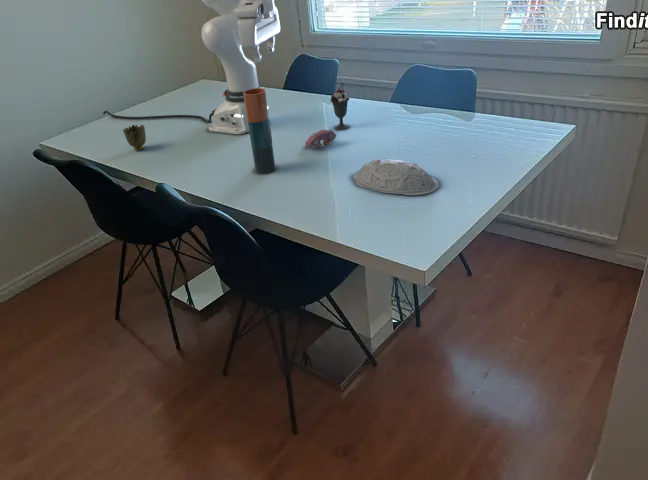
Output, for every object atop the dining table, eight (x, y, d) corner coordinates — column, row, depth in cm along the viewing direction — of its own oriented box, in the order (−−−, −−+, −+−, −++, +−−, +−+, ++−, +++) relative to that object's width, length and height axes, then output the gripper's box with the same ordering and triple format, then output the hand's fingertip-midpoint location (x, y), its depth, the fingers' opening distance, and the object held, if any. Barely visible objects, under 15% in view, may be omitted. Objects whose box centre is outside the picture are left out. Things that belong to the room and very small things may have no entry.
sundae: (351, 123, 197) (348, 81, 188) (350, 130, 191) (348, 86, 183) (332, 124, 198) (329, 82, 189) (331, 131, 192) (328, 88, 184)
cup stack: (252, 173, 168) (244, 122, 159) (260, 165, 173) (252, 115, 164) (271, 174, 166) (264, 122, 157) (278, 165, 171) (271, 115, 162)
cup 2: (153, 145, 198) (148, 124, 194) (142, 153, 192) (136, 131, 188) (136, 145, 200) (130, 124, 196) (125, 153, 195) (118, 131, 190)
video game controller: (309, 155, 180) (312, 139, 174) (303, 145, 182) (306, 130, 176) (335, 147, 183) (339, 132, 177) (329, 138, 185) (332, 122, 179)
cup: (244, 122, 159) (239, 94, 155) (252, 115, 164) (248, 88, 160) (263, 122, 157) (260, 94, 153) (271, 115, 162) (268, 88, 158)
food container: (422, 199, 141) (422, 174, 138) (342, 186, 156) (341, 163, 153) (448, 182, 152) (449, 158, 149) (371, 171, 166) (370, 149, 163)
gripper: (262, -2, 157) (268, 49, 165) (231, 12, 141) (239, 67, 149) (282, -3, 155) (287, 48, 163) (253, 11, 139) (261, 67, 147)
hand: (264, 57), depth 156 cm, fingers open, 8 cm apart
